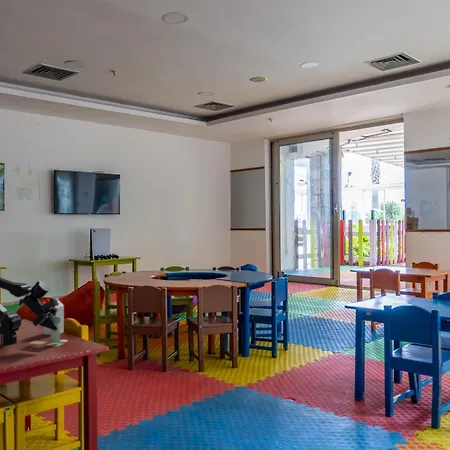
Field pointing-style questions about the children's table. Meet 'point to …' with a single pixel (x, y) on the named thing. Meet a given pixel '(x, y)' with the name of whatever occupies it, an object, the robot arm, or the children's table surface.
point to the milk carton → (61, 314)
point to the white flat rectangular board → (48, 344)
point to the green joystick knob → (56, 334)
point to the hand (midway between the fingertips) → (58, 329)
